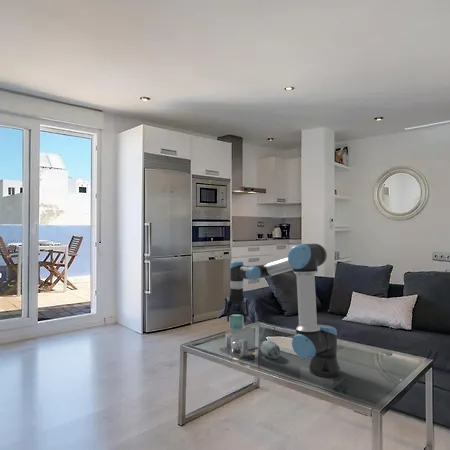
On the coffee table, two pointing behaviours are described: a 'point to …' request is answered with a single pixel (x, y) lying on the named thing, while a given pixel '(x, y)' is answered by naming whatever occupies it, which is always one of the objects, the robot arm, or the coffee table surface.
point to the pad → (251, 347)
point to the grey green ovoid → (270, 349)
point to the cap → (236, 322)
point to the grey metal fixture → (236, 347)
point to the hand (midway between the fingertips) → (236, 327)
